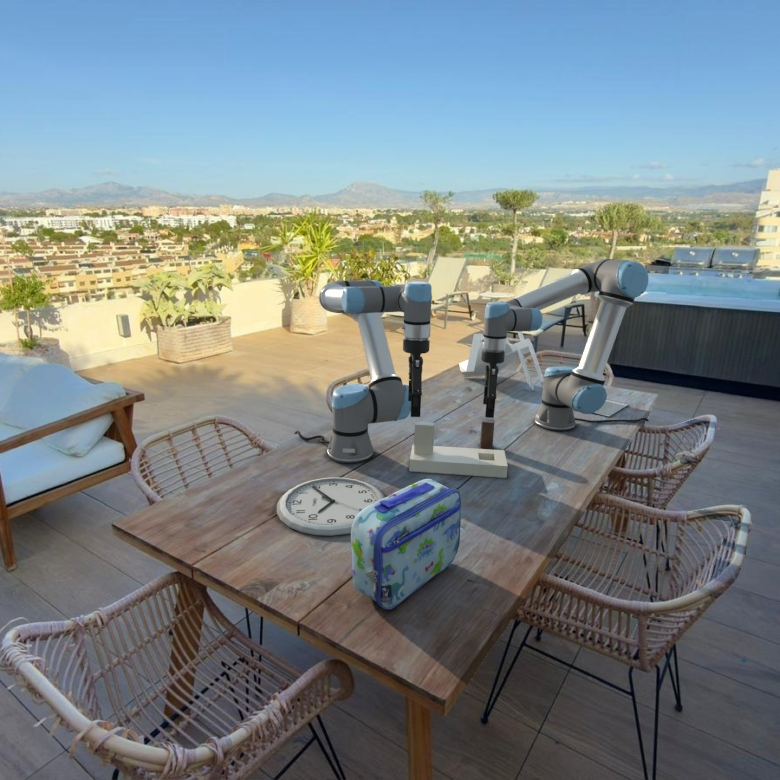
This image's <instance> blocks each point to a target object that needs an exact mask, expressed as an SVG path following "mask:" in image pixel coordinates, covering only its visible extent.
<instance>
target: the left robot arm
mask: <svg viewBox="0 0 780 780" xmlns="http://www.w3.org/2000/svg"><path fill="white" fill-rule="evenodd" d="M432 288H433V287H432V284H431V283H429V282H425V281H408V282H406V283H405V284H403V283H402V284H400V283H398V284H397V283H396V284H393V285H383V284H382V282H381V281H379V280H377V279H368V278H367V279H359V280H347V279H346V280H342V279H341V280H334V281H330V282H328V283H326V284H325V285H324V286H322V288H321V289H320V290H319V294H318V302H319V304H320V306H321V307H322V308H323V309H324V310H325V311H327V312H330V313H334V314H348V315H349V314H350V315H351V318H352V320H353V321H355V322H356V323H357V324H358V328H359V329H358V330H359V334H360V337H361V343H362V347H363V351H364V355H365V360H366V363H367V364H366V365H367V368H368V372H369V376H370V382H369V384H368V385H367V384H364V383H349V384H345V385H341V386H339V387H337V388H336V389H335V390H334V391H333V393H332V397H331V411H332V412H331V413H332V415H331V416H332V418H331V419H332V420H331V421H332V434H331V437H330V440H325V436H324V435H320V434H318V435H313V436H309V437H304V436H303V435H302V433H301V432H300V430H296V431H294V435H298V437H299V438H300V439H301V440H303V441H312V440H315V439H319V442H320V443H321V444H328V447H327V457H328V458H329V459H330V460H332V461H333V462H337V463H339V464H358V463H359V464H360V463H363V462H366V461H368V460H370V459H371V458H372V457H374V446H373V445H372V440H371V437H370V434H369V424H377V423H378V424H379V423H387V422H397V421H402V420H405V419H407V418H408V417H409V415H410V418H421V410H422V409H421V408H422V407H421V406H422V395H423V388H422V387H423V386H422V384H423V383H422V381H423V379H422V376H423V375H422V374H423V365H424V359H423V356H422V355H423V354H427V353H429V351H430V343H431V341H430V339H429V338H430V337H431V324H432V323H431V318H432V317H431V316H432V315H431V314H432V300H433V294H432V293H433V291H432ZM385 313H403V325H401V330H403V337H404V338H403V339H402V351H403V352H405V353H407V354H409V356H408V384H403V379H402V378H401V377H400V376H399V375H398V374H397V375H396V371H395V366H394V363H393V358H392V355H391V350H390V346H389V343H388V339H387V334H386V330H385V326H384V322H383V319H382V317H383V316H384V314H385Z"/></svg>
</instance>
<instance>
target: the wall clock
mask: <svg viewBox="0 0 780 780" xmlns="http://www.w3.org/2000/svg"><path fill="white" fill-rule="evenodd" d="M385 497H386V496H385V494H384V493H383V492H382V491H381V490H380V489H379V488H377V487H376V486H374V485H372V484H371V483H369V482H365V481H362V480H359V479H355V478H349V477H338V476H337V477H335V476H333V477H332V476H331V477H322V478H317V479H312V480H307V481H305V482H302V483H299V484H297V485H295V486H293V487H292V488H290V489H288V490H287V491H286V492H285V493H284V494H283V495H281V496H280V498H279V499H278V502H277V503H276V515H277V517H278V518H279V520H280V521H281V522H282V523H283V524H285V525H286V526H287V527H288V528H290V529H293V530H295V531H297V532H299V533H303V534H308V535H312V536H327V537H328V536H329V537H331V536H332V537H333V536H342V535H350V534H351V529H352V524H353V521H354V519H355V517H356V516H357V514H358V513H359V512H360V511H361V510H362V509H364V508H366V507H367V506H369V505H371V504H374V503H375V502H377V501H379V500H381V499H383V498H385Z"/></svg>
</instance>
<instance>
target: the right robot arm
mask: <svg viewBox="0 0 780 780" xmlns="http://www.w3.org/2000/svg"><path fill="white" fill-rule="evenodd" d="M648 285H649V273H648V271H647V269H646V267H645V266H644V265H643V264H642V263H640V262H639V261H634V260H629V259H627V260H625V259H615V258H614V259H613V258H603V259H599V260H596V261H593V262H590V263H588V264H585V265H583V266H580V267H578V268H576V269H574V270H572V272H571V274H569V275H566V276H564V277H562V278H560V279H557V280H555V281H552V282H549V283H547V284H545V285H542V286H540V287H537V288H535V289H533V290H530V291H527V292H526V293H523V294H521V295H519V296H516V297H514V298H512V299H509V300H506V301H502V300H501V301H490V302H487V304H486V305H485V310H484V316H483V318H484V322H483V333H482V335H483V338H484V339H481V342H483V346H482V348H483V350H482V356H481V360H482V361H483V362H486V363H487V366H486V375H484V381H483V382H484V389H483V399H482V401H483V402H482V404H483V405H485V414H484V415H485V416H484V418H490V419H494V417H495V408H496V407H495V406H496V399H497V385H498V384H497V383H498V375H499V374H498V366H496V364H498V363H503V362H504V358H505V352H504V350H505V349H506V339H508V337H507V336H508V335H507V334H508V332H509V333H511V332H517V331H522V332H535V331H538V330H539V329H541V327H542V324H543V320H544V318H543V313H542V311H543V310H544V309H547V308H549V307H551V306H554V305H556V304H558V303H560V302H563V301H566V300H568V299H570V298H572V297H575V296H577V295H581V296H582V295H587V294H589V293H595V292H596V293H598V294H597V297H598V299H599V300H600V302H599V306H598V309H597V312H596V314H595V316H594V317H595V318H594V320H593V323H592V326H591V329H590V332H589V334H588V336H587V337H588V338H587V340H586V343H585V346H584V349H583V352H582V355H581V358H580V361H579V364H578V366H577V367H573V366H561V365H559V366H558V365H557V366H549V367H547V368H546V369H545V370H544V375H543V378H544V382H543V386H542V394H541V402H540V405H539V407H538V410H537V411H536V413H535V417H534V424H535V425H536V426H537V427H539V428H542V429H544V430H549V431H556V432H567V431H572V430H574V429H575V428H576V421H577V422H584V423H591V424H592V423H593V424H594V423H595V424H597V423H598V424H601V423H613V422H614V423H616V422H617V423H618V422H619V423H638V422H641V421H646V422H650V420H649V419H648V418H646V417H640V418H638V419H601V420H592V419H585V418H577V417H576V416H575V413H574V412H578V413H581V414H583V415H590V414H595V413H594V412H595V411H597V410H599V409H600V408H601V407H602V406H603V405H604V403H605V401H606V400H607V398H608V397H607V396H608V393H607V390H606V388H605V382H606V377H605V376H604V372H605V369H606V366H607V363H608V361H609V359H610V355H611V352H612V350H613V346H614V344H615V341H616V338H617V337H618V336H617V335H618V333H619V330H620V327H621V324H622V322H623V319H624V316H625V313H626V310H627V308H629V307H630V306H633V304H634V302H635V299H637V298H638V297H640V296H642V294H643V295H644V293H645V292H646V291H647V289H648Z"/></svg>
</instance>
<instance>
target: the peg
mask: <svg viewBox="0 0 780 780" xmlns="http://www.w3.org/2000/svg"><path fill="white" fill-rule="evenodd" d="M494 431H495V419H494V418H487V417H482V418H481V426H480V439H479V447H480V448H479V449H491V450H493V445H494V435H495V434H494V433H495V432H494Z"/></svg>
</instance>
